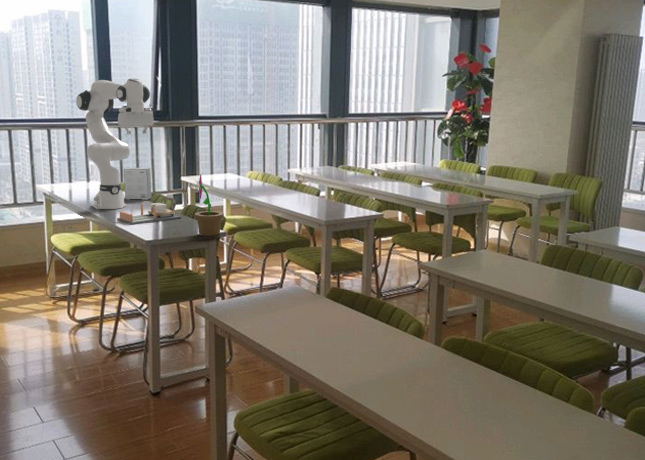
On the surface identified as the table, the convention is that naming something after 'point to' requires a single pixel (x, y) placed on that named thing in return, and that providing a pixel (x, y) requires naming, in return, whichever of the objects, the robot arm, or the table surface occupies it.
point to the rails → (148, 217)
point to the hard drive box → (137, 183)
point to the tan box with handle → (162, 208)
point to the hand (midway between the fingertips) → (136, 133)
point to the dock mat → (151, 220)
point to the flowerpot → (208, 217)
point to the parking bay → (130, 218)
